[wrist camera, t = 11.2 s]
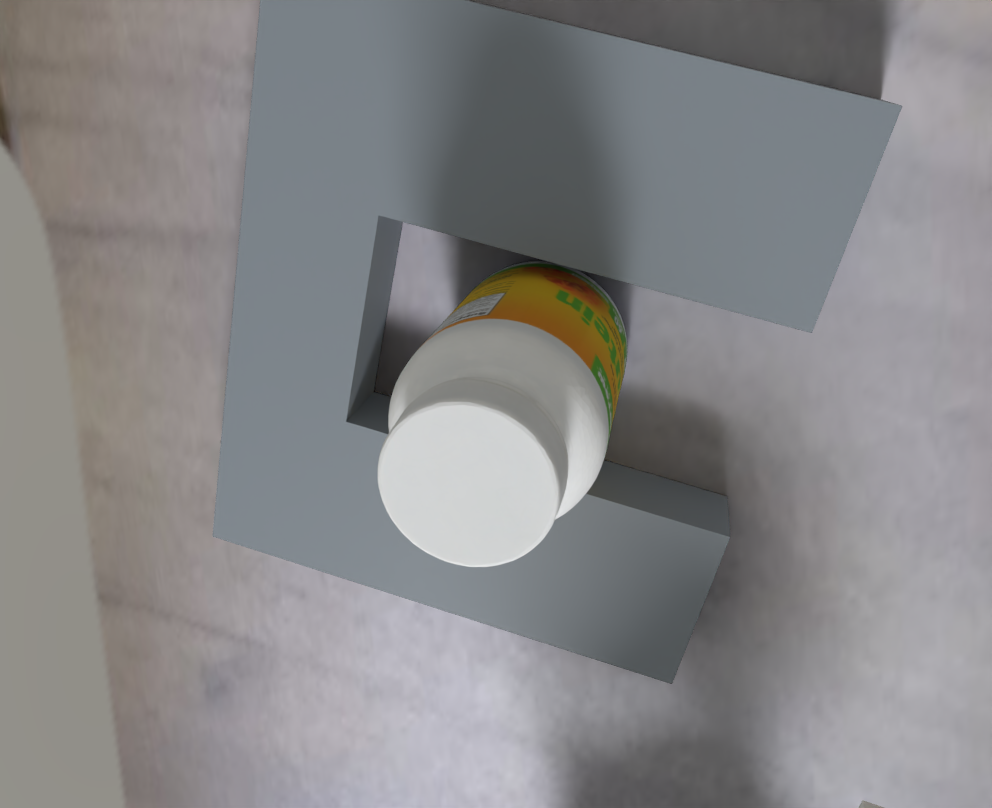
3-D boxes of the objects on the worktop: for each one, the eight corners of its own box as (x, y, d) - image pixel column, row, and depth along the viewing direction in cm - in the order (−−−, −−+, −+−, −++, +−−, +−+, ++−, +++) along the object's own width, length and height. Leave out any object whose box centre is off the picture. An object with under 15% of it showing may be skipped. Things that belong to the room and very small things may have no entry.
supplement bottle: (661, 374, 26) (645, 538, 17) (517, 449, 28) (436, 630, 20) (569, 223, 25) (501, 319, 16) (425, 312, 27) (296, 439, 18)
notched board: (881, 99, 22) (902, 106, 20) (673, 635, 30) (671, 683, 27) (305, -39, 24) (264, -48, 22) (247, 501, 31) (212, 536, 29)
